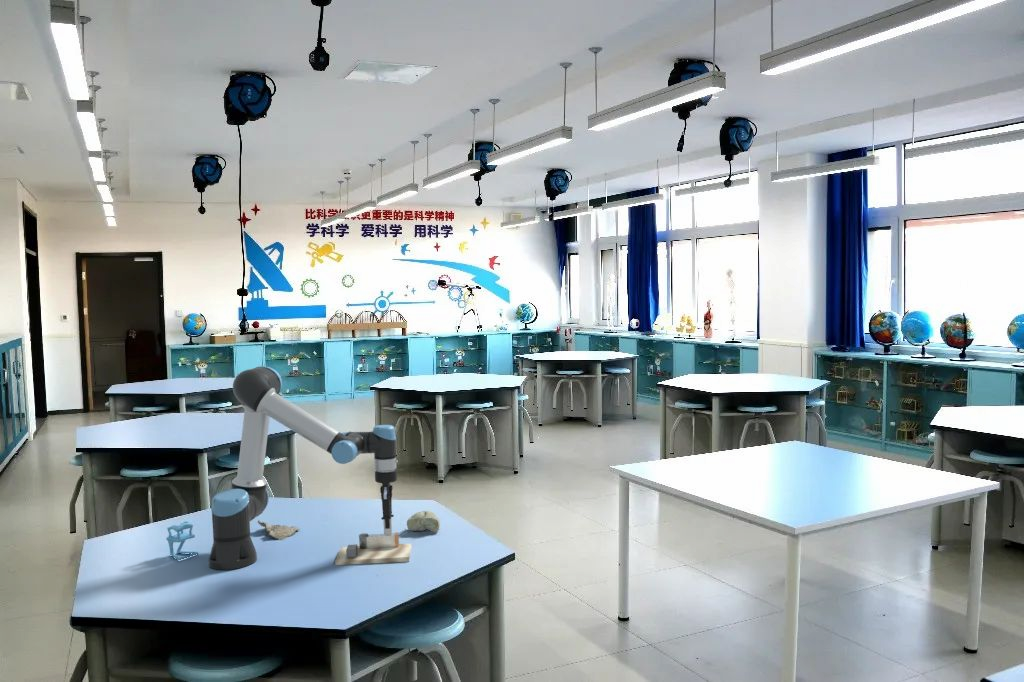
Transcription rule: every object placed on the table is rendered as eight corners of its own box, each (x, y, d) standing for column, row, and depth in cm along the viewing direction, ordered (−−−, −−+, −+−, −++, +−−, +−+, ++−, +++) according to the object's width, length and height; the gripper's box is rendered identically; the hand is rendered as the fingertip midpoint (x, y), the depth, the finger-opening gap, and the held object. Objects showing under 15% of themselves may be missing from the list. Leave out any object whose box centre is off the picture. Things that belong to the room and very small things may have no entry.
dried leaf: (293, 541, 278) (292, 527, 278) (248, 542, 278) (248, 529, 278) (304, 526, 296) (304, 513, 296) (263, 527, 296) (262, 515, 296)
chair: (183, 551, 269) (181, 517, 268) (199, 554, 265) (197, 520, 264) (163, 558, 262) (162, 523, 262) (179, 561, 258) (177, 526, 257)
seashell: (403, 515, 281) (412, 504, 290) (403, 535, 282) (412, 523, 292) (436, 519, 278) (445, 508, 288) (436, 539, 280) (444, 528, 289)
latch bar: (358, 549, 261) (358, 536, 261) (360, 546, 264) (359, 533, 264) (398, 547, 262) (397, 534, 262) (399, 544, 265) (398, 531, 265)
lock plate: (335, 565, 250) (335, 560, 250) (341, 551, 264) (341, 546, 264) (409, 561, 252) (408, 557, 252) (411, 547, 266) (411, 543, 266)
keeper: (346, 558, 252) (346, 549, 252) (348, 553, 257) (348, 544, 257) (355, 558, 252) (355, 549, 252) (357, 553, 257) (357, 544, 257)
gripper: (395, 473, 259) (397, 542, 260) (398, 465, 272) (400, 530, 273) (372, 474, 258) (375, 543, 260) (376, 466, 271) (379, 531, 273)
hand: (388, 536), depth 267 cm, fingers closed
